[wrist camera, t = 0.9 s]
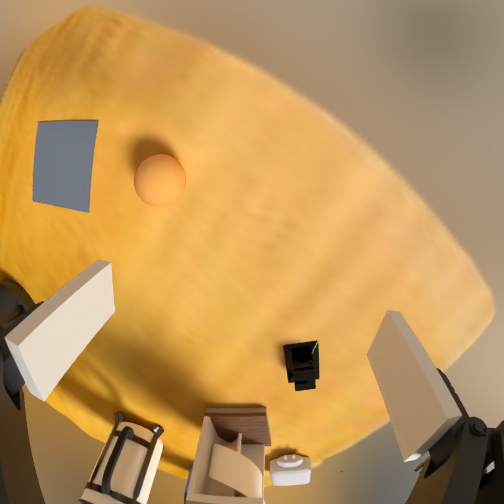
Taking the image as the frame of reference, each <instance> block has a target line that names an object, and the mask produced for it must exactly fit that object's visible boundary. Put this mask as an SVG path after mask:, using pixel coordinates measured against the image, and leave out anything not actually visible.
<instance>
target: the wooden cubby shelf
mask: <svg viewBox="0 0 504 504" xmlns="http://www.w3.org/2000/svg"><path fill="white" fill-rule="evenodd" d="M265 446H271V434H270V428H269V422H268V416H267V410H266V407H256V408H206V411H205V415H204V420H203V424H202V429H201V433H200V437H199V442H198V446H197V451H196V456H195V460H194V465H193V469H192V474H191V478H190V483H189V488H188V492H187V497H186V502H185V504H265V502H264V499H263V489H264V463H265Z"/></svg>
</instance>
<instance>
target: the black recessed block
mask: <svg viewBox="0 0 504 504" xmlns="http://www.w3.org/2000/svg"><path fill="white" fill-rule="evenodd" d="M283 347H284V354H285V361H286V368H287V376H288V383H293V382H295V391H301V390H309V389H315V388H316V384H315V379H319V349H318V341H310V342H303V343H296V344H288V345H284V346H283Z"/></svg>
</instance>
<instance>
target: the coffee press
mask: <svg viewBox="0 0 504 504" xmlns="http://www.w3.org/2000/svg"><path fill="white" fill-rule="evenodd" d="M118 414H119V416H120V419H121V421H122V422H119V417H118ZM114 415H115V425H114V427H113V428H112V430H111V433H110V435H109V437H108V439H107V441H106V443H105V445H104V448H103V450H102V452H101V454H100V457H99V459H98V461H97V463H96V465H95V468H94V470H93V472H92V475H91V477H90V479H89V481H88V482H87V483H86V486H85V488H84V489H85V491H84V494H83V496H82V498H80V499H79V500H78V502H79V503H80V504H146V503H147V499H148V496H149V493H150V489H151V486H152V483H153V479H154V476H155V473H156V469H157V466H158V463H159V459H160V456H161V453H162V450H163V449H164V445H163V444H162V441H161V440H160V438H159V437H160V435H161V434H162V433H163V432H164V429H163V428H162V427H160V426H156V427H155V428H154V429H153V430H151V431H150V430H148V429H146V428H144V427H142V426H140V425H137V424H134V423H130V422H126V421H125V419H124V416H123V414H122V412H116V413H115V414H114Z"/></svg>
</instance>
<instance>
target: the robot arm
mask: <svg viewBox="0 0 504 504" xmlns="http://www.w3.org/2000/svg"><path fill="white" fill-rule="evenodd" d="M114 312H115V305H114V295H113V283H112V268H111V262H107V261H103V260H97V261H96V262H94V263H93V264H92V265H90V266H89V267H88V268H86V269H85V270H84V271H82V272H81V273H80V274H78V275H77V276H76V277H75V278H73V279H72V280H71V281H70V282H68V283H67V284H66V285H64V286H63V287H62V288H61V289H60V290H58V291H57V292H56V293H55V294H53V295H52V296H51V297H50V298H49V299H47V300H46V301H45V302H44V301H42V302H40V303H38V304H35V305H34V303H33V301H32V300H31V298H30V297H29V296H28V294H27V293H26V292H25V291H24V290H23V289H22V288H21V287H20V286H19V285H18V284H17V283H15V282H14V281H12V280H9V279H5V280H3V281H2V282H0V504H45V502H44V498H43V495H42V492H41V489H40V485H39V482H38V478H37V474H36V470H35V466H34V462H33V457H32V453H31V448H30V442H29V437H28V429H27V422H26V413H25V402H24V393H23V390H22V386H23V385H24V384H26V385H27V387H28V389H29V391H30V393H31V394H33V395H34V396H36V397H38V398H39V399H41V400H43V401H45V400H46V399H47V397H48V396H49V394H50V393H51V392H52V390H53V389H54V387H55V386H56V385H57V383H58V382H59V381H60V379H61V378H62V377H63V375H64V374H65V373H66V371H67V370H68V369H69V367H70V366H71V365H72V364H73V362H74V361H75V360H76V358H77V357H78V356H79V355H80V353H81V352H82V351H83V349H84V348H85V347H86V346H87V344H88V343H89V342H90V341H91V339H92V338H93V337H94V336H95V335H96V333H97V332H98V331H99V330H100V329H101V327H102V326H103V325H104V324H105V322H106V321H107V320H108V319H109V318H110V317H111V315H112V314H113V313H114ZM367 357H368V359H369V362H370V364H371V367H372V369H373V372H374V375H375V377H376V380H377V383H378V385H379V388H380V391H381V394H382V396H383V399H384V402H385V405H386V408H387V411H388V413H389V416H390V419H391V422H392V425H393V428H394V431H395V434H396V438H397V441H398V444H399V447H400V450H401V454H402V457H403V461H404V462H405V461H411V460H415V459H419V458H420V457H421V456H423V455H424V454H425V453H426V452H427V451H429V453H430V456H429V457H428V458H427V459H426V460H425V461H424V462H422V463H421V464H420V465H419V466H418V467H417V468H416V469H415V470H414V471H418V470H419V469H420V468H421V467H423V468H422V470H421V472H419V473H420V475H419V477H418V480H417V482H416V484H415V486H414V488H413V490H412V492H411V494H410V496H409V498H408V500H407V502H406V503H405V504H504V421H502V422H501V423H500V424H499V425H498V426H497V427H496V428H487V426H486V424H485V423H484V422H483V421H482V420H481V419H479V418H477V417H469V416H468V414H467V412H466V410H465V408H464V406H463V404H462V403H461V401H460V399H459V397H458V395H457V394H456V393H455V390H454V388H453V387H452V386H451V383H450V382H449V380H448V378H447V376H446V375H445V374H444V373H443V372H442V371H441V370H440V369H439V368H436V367H435V365H434V364H433V362H432V360H431V359H430V357H429V356H428V354H427V352H426V351H425V349H424V348H423V346H422V344H421V343H420V341H419V340H418V338H417V337H416V335H415V334H414V332H413V331H412V329H411V328H410V326H409V325H408V323H407V322H406V320H405V319H404V317H403V316H402V314H401V313H400V312H397V311H389V310H387V312H386V314H385V316H384V319H383V321H382V323H381V325H380V328H379V330H378V332H377V334H376V336H375V338H374V340H373V343H372V345H371V347H370V349H369V351H368V353H367ZM493 463H494V465H495V466H494V467H495V468H494V469H493V470H492V471H491V472H489V473H487V468H488V467H489V466H490V465H492V464H493Z"/></svg>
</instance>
